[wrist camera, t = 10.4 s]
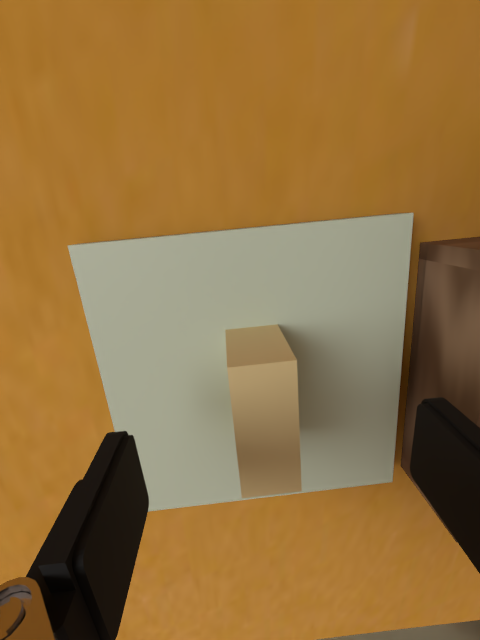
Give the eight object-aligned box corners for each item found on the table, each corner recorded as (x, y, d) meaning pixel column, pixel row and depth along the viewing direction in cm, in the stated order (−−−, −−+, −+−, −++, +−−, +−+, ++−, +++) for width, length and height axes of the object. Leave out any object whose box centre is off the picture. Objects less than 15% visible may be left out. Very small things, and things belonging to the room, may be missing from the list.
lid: (78, 243, 14) (6, 256, 10) (401, 213, 15) (487, 210, 10) (139, 498, 19) (112, 591, 14) (383, 469, 19) (437, 550, 15)
